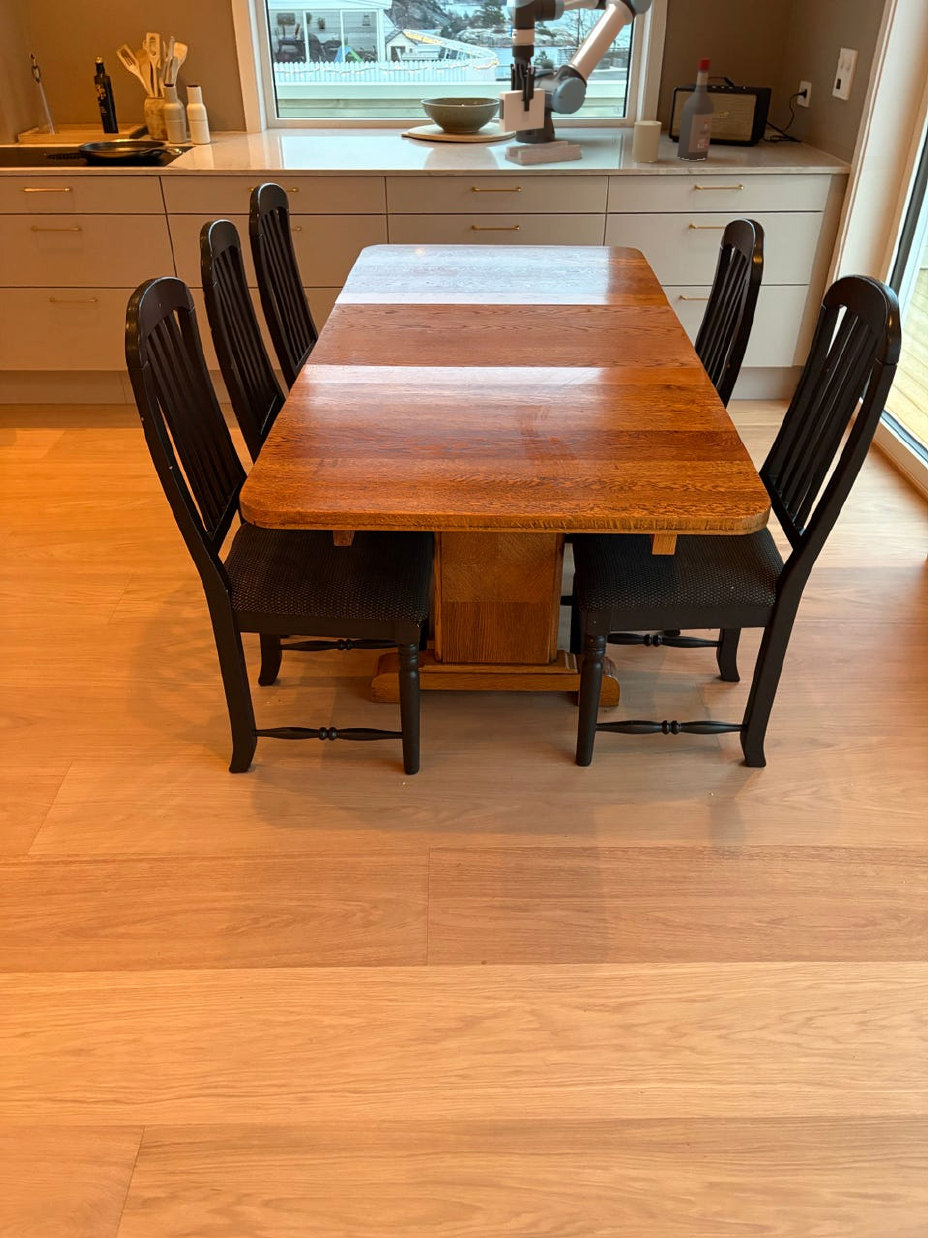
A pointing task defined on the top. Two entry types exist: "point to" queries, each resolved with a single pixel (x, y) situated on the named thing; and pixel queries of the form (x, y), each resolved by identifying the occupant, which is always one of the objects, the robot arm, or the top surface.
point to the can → (646, 141)
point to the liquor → (697, 118)
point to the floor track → (542, 152)
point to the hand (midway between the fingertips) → (521, 120)
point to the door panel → (512, 111)
